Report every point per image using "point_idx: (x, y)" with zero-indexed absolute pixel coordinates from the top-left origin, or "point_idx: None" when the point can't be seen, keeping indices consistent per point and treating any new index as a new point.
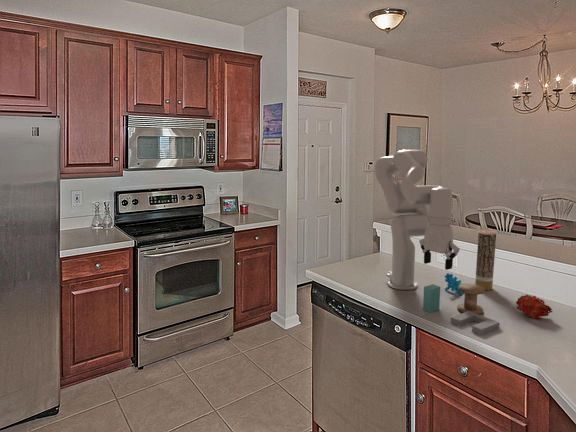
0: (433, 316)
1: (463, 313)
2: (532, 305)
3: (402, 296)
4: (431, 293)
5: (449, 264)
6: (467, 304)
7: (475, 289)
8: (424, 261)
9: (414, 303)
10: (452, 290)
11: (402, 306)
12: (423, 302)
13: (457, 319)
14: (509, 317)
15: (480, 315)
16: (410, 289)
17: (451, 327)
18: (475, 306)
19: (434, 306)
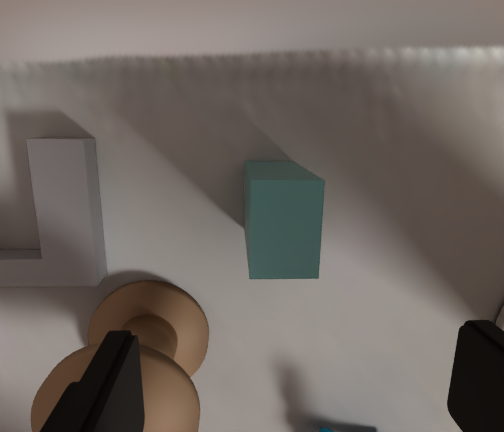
0: (197, 129)
1: (88, 237)
2: None
3: (474, 210)
4: (249, 178)
5: (59, 410)
6: (135, 329)
7: None
8: (495, 332)
9: (371, 186)
10: (324, 429)
11: (386, 98)
12: (299, 165)
13: (42, 142)
14: (7, 403)
15: (25, 285)
16: (500, 312)
17: (48, 90)
18: None
19: (245, 196)
